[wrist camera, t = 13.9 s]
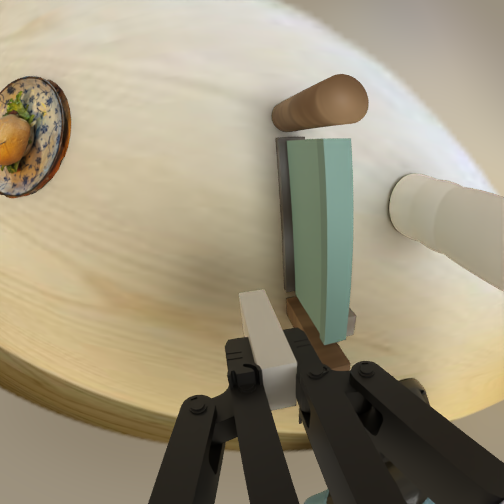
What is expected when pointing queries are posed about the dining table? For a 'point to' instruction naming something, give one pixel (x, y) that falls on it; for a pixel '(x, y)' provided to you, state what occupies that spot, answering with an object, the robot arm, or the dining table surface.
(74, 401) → the dining table surface
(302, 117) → the gate frame
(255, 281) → the dining table surface
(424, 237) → the water bottle
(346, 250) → the gate
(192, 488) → the robot arm
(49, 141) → the burger
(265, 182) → the dining table surface
